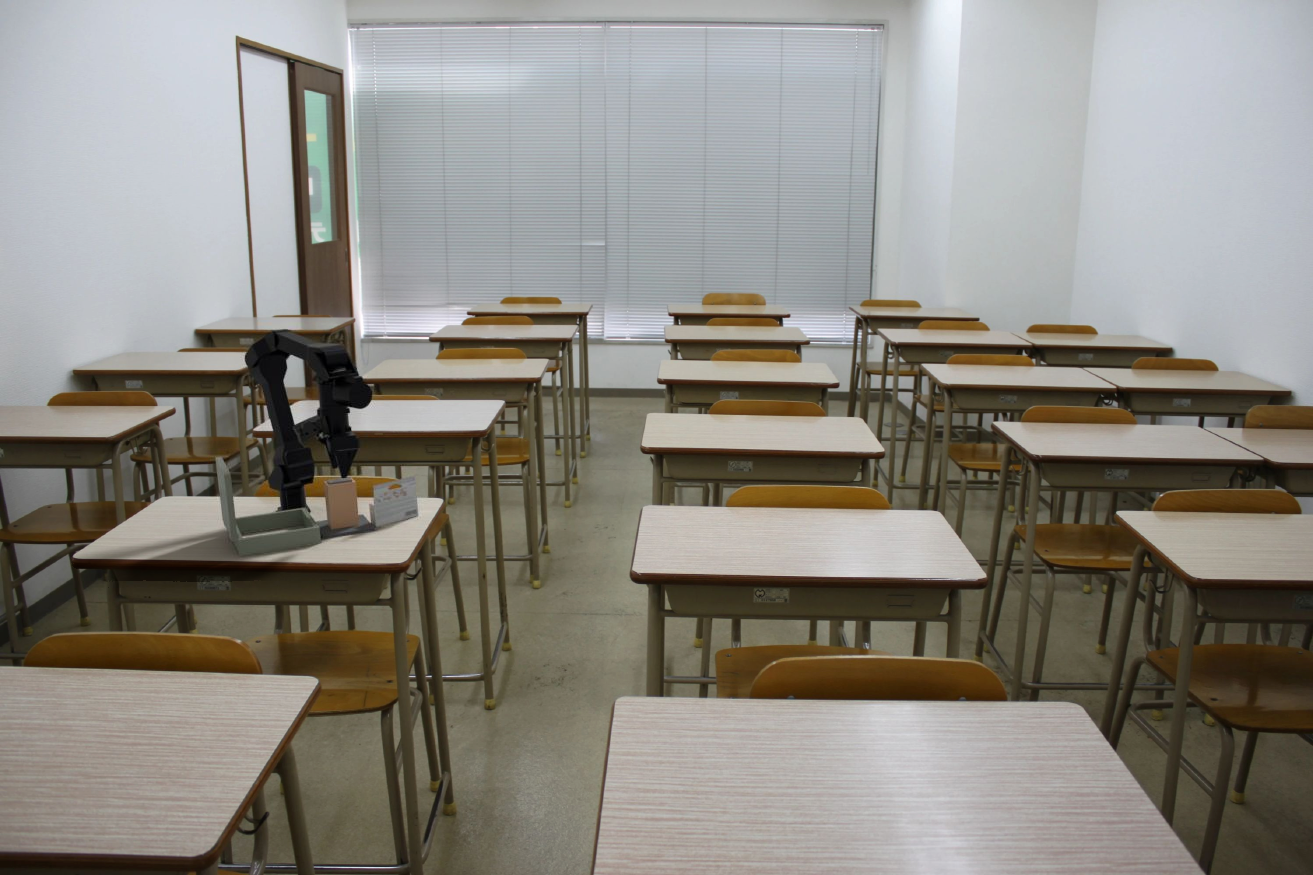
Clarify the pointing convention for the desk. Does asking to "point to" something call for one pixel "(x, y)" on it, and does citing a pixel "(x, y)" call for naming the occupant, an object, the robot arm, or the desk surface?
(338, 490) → the box
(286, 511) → the case
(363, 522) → the rubber mat
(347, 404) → the robot arm
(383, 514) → the ink cartridge box
